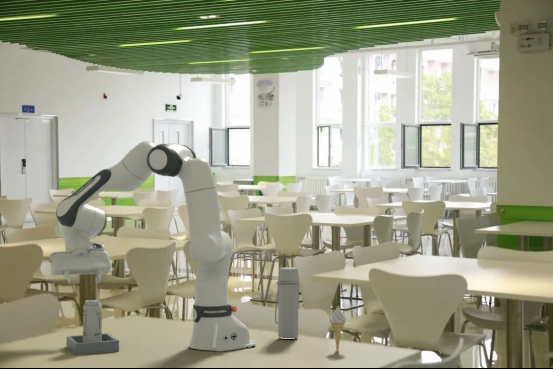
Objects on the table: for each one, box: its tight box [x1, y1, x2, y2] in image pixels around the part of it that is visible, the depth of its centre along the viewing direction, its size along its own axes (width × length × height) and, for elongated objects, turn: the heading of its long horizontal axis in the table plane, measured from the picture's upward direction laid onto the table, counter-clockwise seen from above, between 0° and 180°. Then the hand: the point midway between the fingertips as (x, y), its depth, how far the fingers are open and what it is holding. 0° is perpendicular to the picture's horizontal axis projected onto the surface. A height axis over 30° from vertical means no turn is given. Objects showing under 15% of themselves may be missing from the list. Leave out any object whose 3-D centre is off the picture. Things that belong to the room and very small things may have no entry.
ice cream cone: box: [329, 305, 347, 351], centre depth 264 cm, size 6×6×15 cm
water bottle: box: [274, 266, 300, 339], centre depth 285 cm, size 9×8×25 cm
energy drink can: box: [82, 299, 103, 343], centre depth 263 cm, size 6×6×15 cm
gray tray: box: [66, 332, 120, 356], centre depth 263 cm, size 14×14×4 cm
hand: (84, 282), depth 274 cm, fingers open, 8 cm apart
